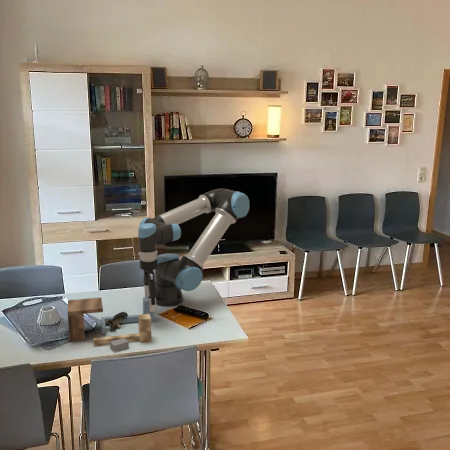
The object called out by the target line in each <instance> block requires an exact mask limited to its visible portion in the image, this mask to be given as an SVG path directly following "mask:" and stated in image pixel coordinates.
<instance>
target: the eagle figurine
mask: <svg viewBox="0 0 450 450" xmlns="http://www.w3.org/2000/svg"><path fill="white" fill-rule="evenodd" d="M128 315H129V314H128V313H127V312H126V311H120V312H118V313H117V314H115V315H113V316H114V317H113V320H110V319H107V320H105V323H106V324H105V325H108V326H107V327H108V328H110V331H113V330H114V327H117V328H119V329H122V325H123V324H124V323H121V322H120V321H122V320H123V319H126V318H127V317H128ZM108 323H109V324H108ZM120 324H122V325H120Z"/></svg>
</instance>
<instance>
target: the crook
mask: <svg viewBox="0 0 450 450" xmlns="http://www.w3.org/2000/svg"><path fill="white" fill-rule="evenodd" d="M143 314H150V317H151V323H155V311H153V312H150V302H149V298H148V297H145V296H144V297H142V314H141V315H143ZM138 315H139V314H128V317H127V318H126V319H123V320H122V321H120V322H121V323H120V324H122V323H125V324H126V323H137V322H138V323H139V319H138ZM114 316H115V315H113V316H111V315H110V316H101V318H100V322H101V323H100V326H101V327H100V328H101V334H106V325H110V324H109V323H108V324H106V323H105V320H107V319H110V320H113V317H114Z"/></svg>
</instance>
